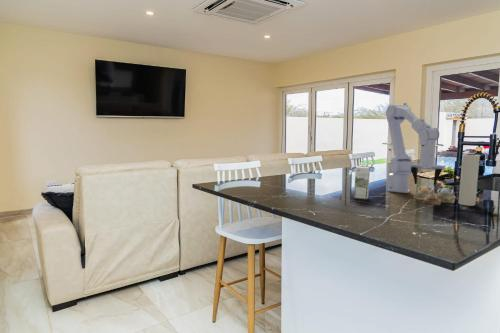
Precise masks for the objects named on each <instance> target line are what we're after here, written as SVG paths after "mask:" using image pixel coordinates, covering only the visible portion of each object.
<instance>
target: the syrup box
mask: <svg viewBox="0 0 500 333" xmlns="http://www.w3.org/2000/svg"><path fill="white" fill-rule="evenodd" d="M370 168H371V167H370V166H369V165H368V166H367V165H356V166H355V170H354V171H355V174H354V175H355V176H354V194H353V198H354V199H358V200H368V199H369V189H370V188H369V187H370V171H371V169H370Z"/></svg>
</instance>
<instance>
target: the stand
mask: <svg viewBox="0 0 500 333" xmlns="http://www.w3.org/2000/svg"><path fill="white" fill-rule="evenodd" d="M422 204H426V205H427V204H428V205H434V206H435V205H436V206H440V205H441V204H442V202H441V199H438V198H436V197H425V198H424V199H423V200H422Z"/></svg>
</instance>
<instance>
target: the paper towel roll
mask: <svg viewBox="0 0 500 333" xmlns="http://www.w3.org/2000/svg"><path fill="white" fill-rule="evenodd" d="M480 157H481V156H480V154H476V153H474V154H473V153H466V154H465V153H464V154H462V159H461V168H460V169H461V170H460V180H459V190H458V191H459V193H458V204H459V205H461V206H470V207H473V206H476V201H477V200H476V199H477V190H478V180H479V179H478V178H479V167H480V159H481V158H480Z"/></svg>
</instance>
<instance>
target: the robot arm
mask: <svg viewBox="0 0 500 333" xmlns="http://www.w3.org/2000/svg"><path fill="white" fill-rule="evenodd" d="M411 108H412V107H410V105H409V104H392V103H391V104H388V106H387V107H386V111H385V115H386V121H387V123H388V130H389V134H390V140H391V144H392V151H393V156H392V157H391V159H390V160H389V161H390V166H389V168H390V170H391V173H388V174H389V175H388V182H387V184H388V185H387V192H392V193H393V192H394V193H402V194H403V193H405V194H408V193H410V192H411V189H409V186H410V175H411V174H412V177H413V179H414V185H417V184H418V171H419V169H420V170H421V169H422V170H424V169H426V170H434V179H433V187H436V186H437V181H438V179H439V177H440V175H441V173H442V172H443V171H445V170H446V165H440V164H435V156H436V155H435V152H436V142H437V141H438V139H439V138H440V131H439V129H438V128H437V127H431V125H430V124H428V123H427V122H426V121H425V120H426V119H424V118H418V117H417V116H416V114H415V113H414V112H413V111H412V109H411ZM405 120H407V121H408V122H409V123H410V124H411V128H412V129H413V131H414V132H416V134H417V135H418V139H419V144H420V155H419V163H414V162H413V160H412V158H411V156H409V155H408V154H407V153H406V147H405V143H404V139H403V138H404V137H403V133H402V128H401V124H402V123H404V122H405Z"/></svg>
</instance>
